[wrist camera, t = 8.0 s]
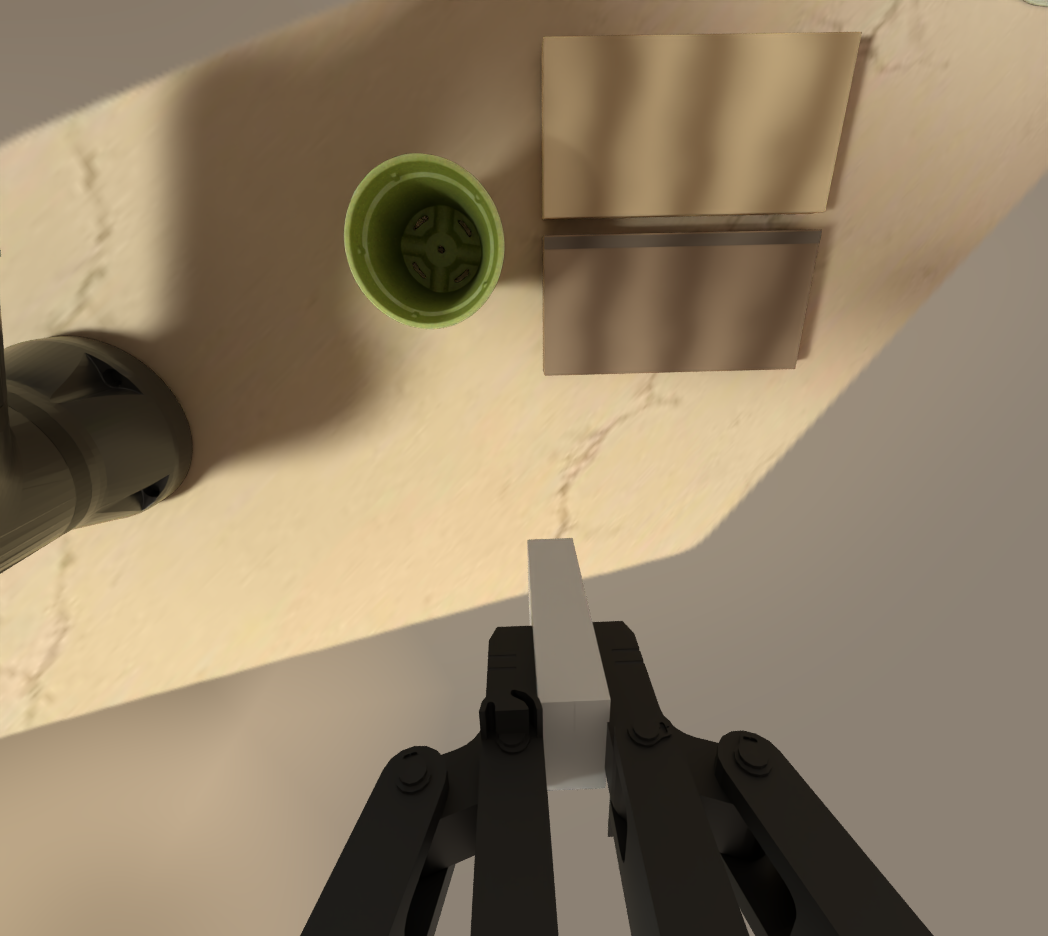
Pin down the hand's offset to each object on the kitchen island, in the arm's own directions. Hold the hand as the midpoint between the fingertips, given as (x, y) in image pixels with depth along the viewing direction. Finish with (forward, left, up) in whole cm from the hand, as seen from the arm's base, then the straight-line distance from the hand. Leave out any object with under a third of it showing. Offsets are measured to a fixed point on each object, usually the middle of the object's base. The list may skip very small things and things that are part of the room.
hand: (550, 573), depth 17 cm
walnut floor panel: (+12, +7, -26) cm, 30 cm away
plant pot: (-6, +11, -27) cm, 29 cm away
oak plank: (+12, +18, -26) cm, 34 cm away
